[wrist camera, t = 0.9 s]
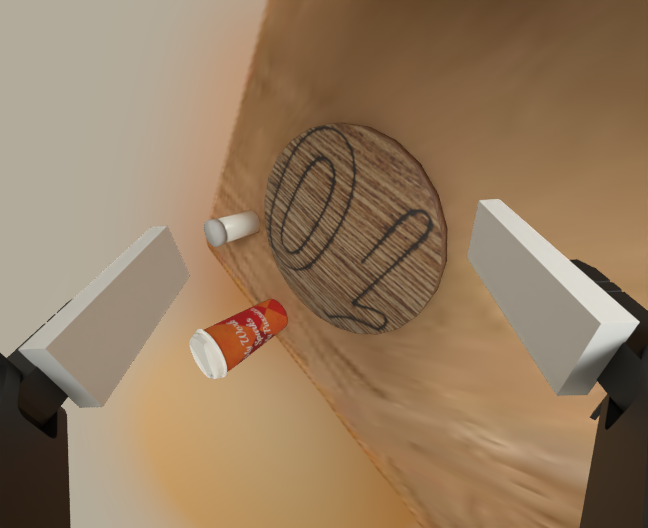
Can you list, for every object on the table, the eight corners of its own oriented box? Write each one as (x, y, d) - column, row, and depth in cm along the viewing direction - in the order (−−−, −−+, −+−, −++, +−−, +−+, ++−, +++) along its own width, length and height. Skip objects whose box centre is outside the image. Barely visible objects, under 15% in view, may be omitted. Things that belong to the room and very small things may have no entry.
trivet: (512, 221, 24) (508, 227, 23) (370, 359, 41) (363, 367, 39) (310, 77, 32) (297, 75, 30) (258, 242, 48) (249, 246, 47)
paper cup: (298, 332, 49) (225, 385, 39) (272, 333, 54) (202, 380, 44) (280, 289, 48) (201, 332, 38) (255, 295, 53) (180, 333, 44)
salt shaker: (244, 206, 47) (202, 216, 41) (260, 214, 45) (218, 225, 40) (245, 228, 48) (205, 241, 43) (260, 236, 47) (220, 250, 42)
